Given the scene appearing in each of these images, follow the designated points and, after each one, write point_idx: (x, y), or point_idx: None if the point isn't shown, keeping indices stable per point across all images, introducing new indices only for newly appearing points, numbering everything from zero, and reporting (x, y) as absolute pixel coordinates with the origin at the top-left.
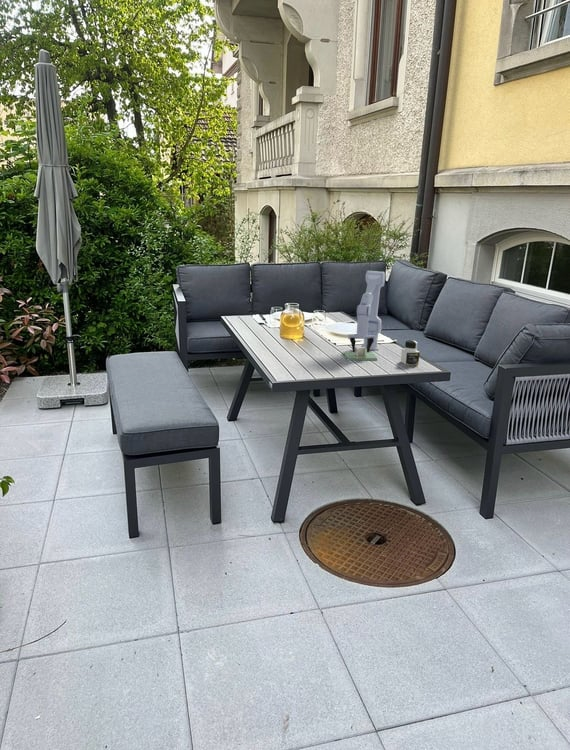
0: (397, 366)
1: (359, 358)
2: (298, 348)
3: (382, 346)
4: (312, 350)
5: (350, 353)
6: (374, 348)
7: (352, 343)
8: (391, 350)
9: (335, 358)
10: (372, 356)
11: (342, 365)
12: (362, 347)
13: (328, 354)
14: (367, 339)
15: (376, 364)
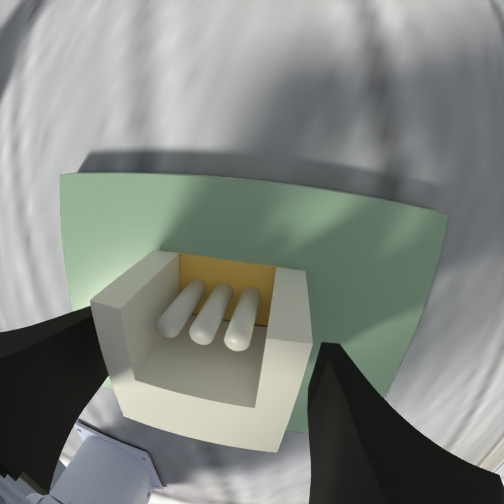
0: (29, 27)
1: (281, 185)
2: (495, 451)
3: (72, 445)
4: (476, 444)
5: None
6: (93, 438)
7: (440, 454)
8: None
9: (498, 288)
10: (90, 249)
11: (498, 46)
12: (159, 408)
13: (469, 396)
14: (43, 481)
15: (135, 19)
